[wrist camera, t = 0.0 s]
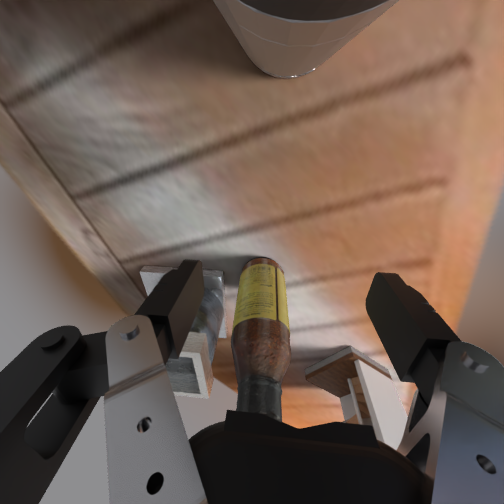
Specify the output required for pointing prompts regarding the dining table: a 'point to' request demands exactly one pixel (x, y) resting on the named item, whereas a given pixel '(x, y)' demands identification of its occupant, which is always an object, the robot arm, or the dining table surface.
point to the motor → (196, 334)
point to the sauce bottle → (261, 338)
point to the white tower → (362, 393)
